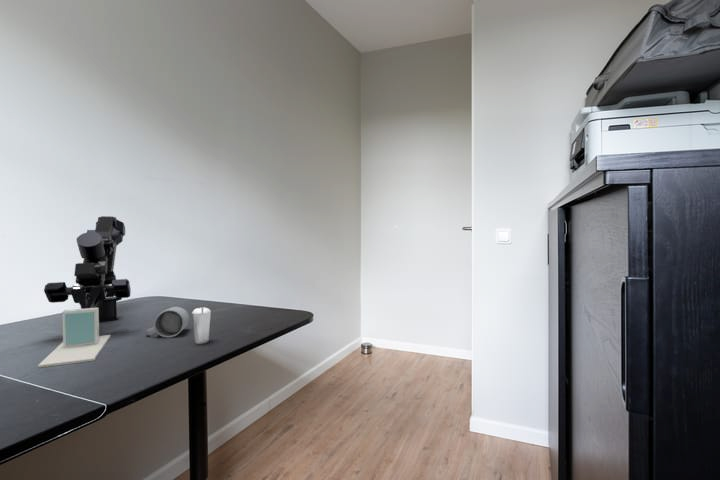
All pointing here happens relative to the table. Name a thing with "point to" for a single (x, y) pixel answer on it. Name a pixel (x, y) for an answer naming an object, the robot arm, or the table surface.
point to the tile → (80, 327)
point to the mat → (74, 353)
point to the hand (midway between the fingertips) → (85, 316)
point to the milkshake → (201, 324)
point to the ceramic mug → (170, 322)
